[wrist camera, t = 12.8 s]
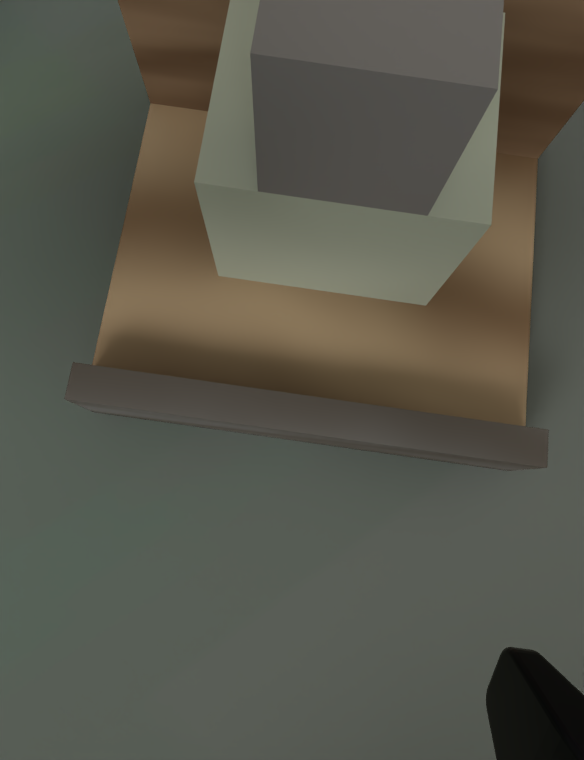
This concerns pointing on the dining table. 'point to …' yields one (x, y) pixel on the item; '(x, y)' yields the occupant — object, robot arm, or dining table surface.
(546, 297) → the dining table surface
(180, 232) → the cleat board
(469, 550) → the dining table surface
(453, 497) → the dining table surface
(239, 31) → the sage cabinet
